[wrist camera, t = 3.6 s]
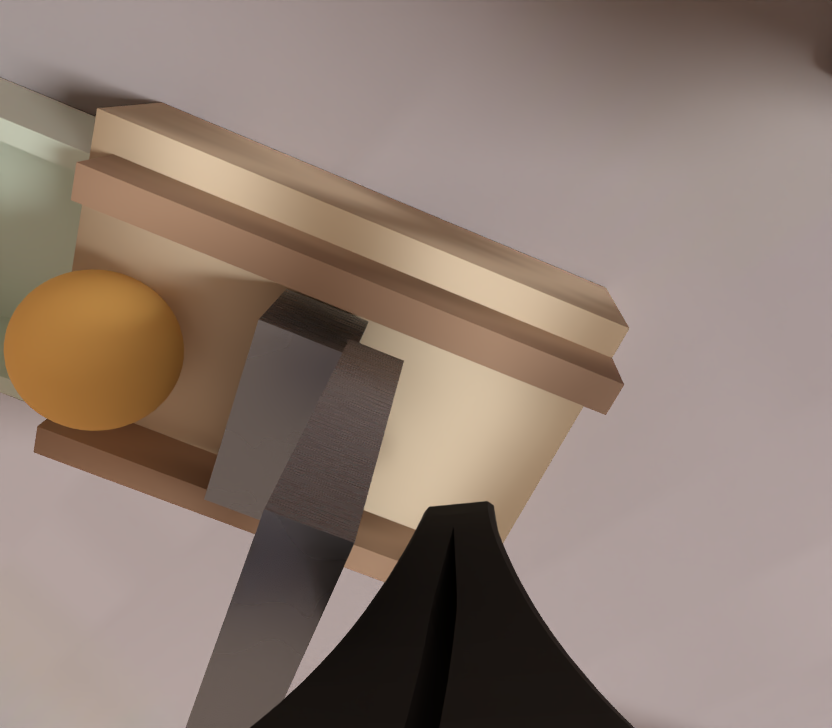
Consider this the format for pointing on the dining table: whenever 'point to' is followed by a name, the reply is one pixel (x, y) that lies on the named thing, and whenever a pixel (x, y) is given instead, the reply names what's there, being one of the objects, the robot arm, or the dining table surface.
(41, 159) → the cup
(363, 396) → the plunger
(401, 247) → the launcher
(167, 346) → the ball
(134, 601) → the dining table surface
